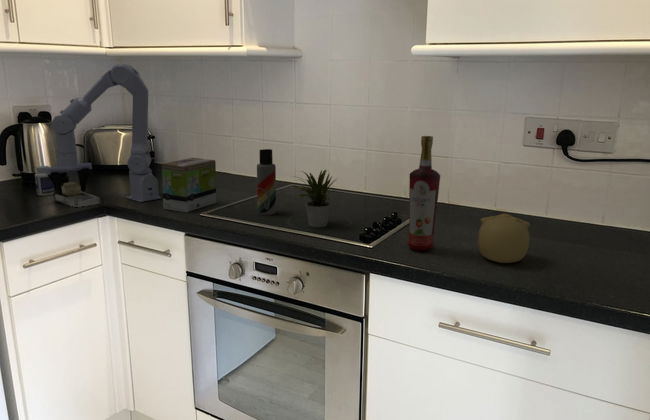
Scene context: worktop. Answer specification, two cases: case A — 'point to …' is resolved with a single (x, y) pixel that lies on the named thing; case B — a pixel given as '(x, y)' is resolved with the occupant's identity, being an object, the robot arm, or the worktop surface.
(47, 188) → the pill bottle
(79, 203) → the grey flat frame
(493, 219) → the sculpture
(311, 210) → the house plant
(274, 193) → the lotion bottle
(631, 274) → the worktop surface
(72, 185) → the block
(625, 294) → the worktop surface
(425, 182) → the liquor
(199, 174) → the tea box
